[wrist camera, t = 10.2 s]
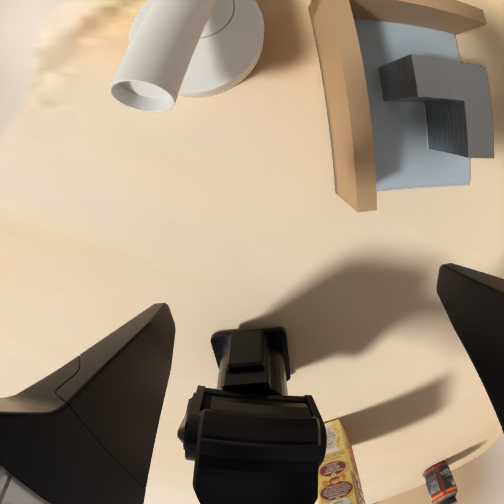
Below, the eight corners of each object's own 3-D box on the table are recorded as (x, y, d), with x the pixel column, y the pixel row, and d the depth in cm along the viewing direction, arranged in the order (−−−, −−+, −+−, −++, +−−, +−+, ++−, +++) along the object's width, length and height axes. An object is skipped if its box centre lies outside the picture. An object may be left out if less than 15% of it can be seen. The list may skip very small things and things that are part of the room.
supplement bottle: (418, 477, 43) (430, 515, 33) (428, 466, 41) (442, 507, 30) (440, 469, 43) (453, 506, 32) (450, 457, 40) (465, 496, 30)
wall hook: (45, 107, 10) (106, -70, 6) (126, 110, 18) (158, -10, 15) (234, 123, 10) (286, -73, 6) (244, 126, 19) (274, 1, 15)
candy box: (306, 427, 31) (319, 539, 17) (340, 416, 31) (363, 529, 17) (325, 453, 35) (338, 545, 20) (353, 444, 34) (373, 536, 20)
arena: (465, 183, 20) (503, 198, 15) (335, 193, 21) (357, 212, 16) (447, 23, 14) (482, 9, 10) (308, 7, 15) (322, -23, 11)
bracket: (445, 73, 16) (485, 67, 11) (453, 148, 18) (494, 158, 14) (377, 67, 16) (410, 54, 12) (388, 149, 19) (423, 158, 14)
